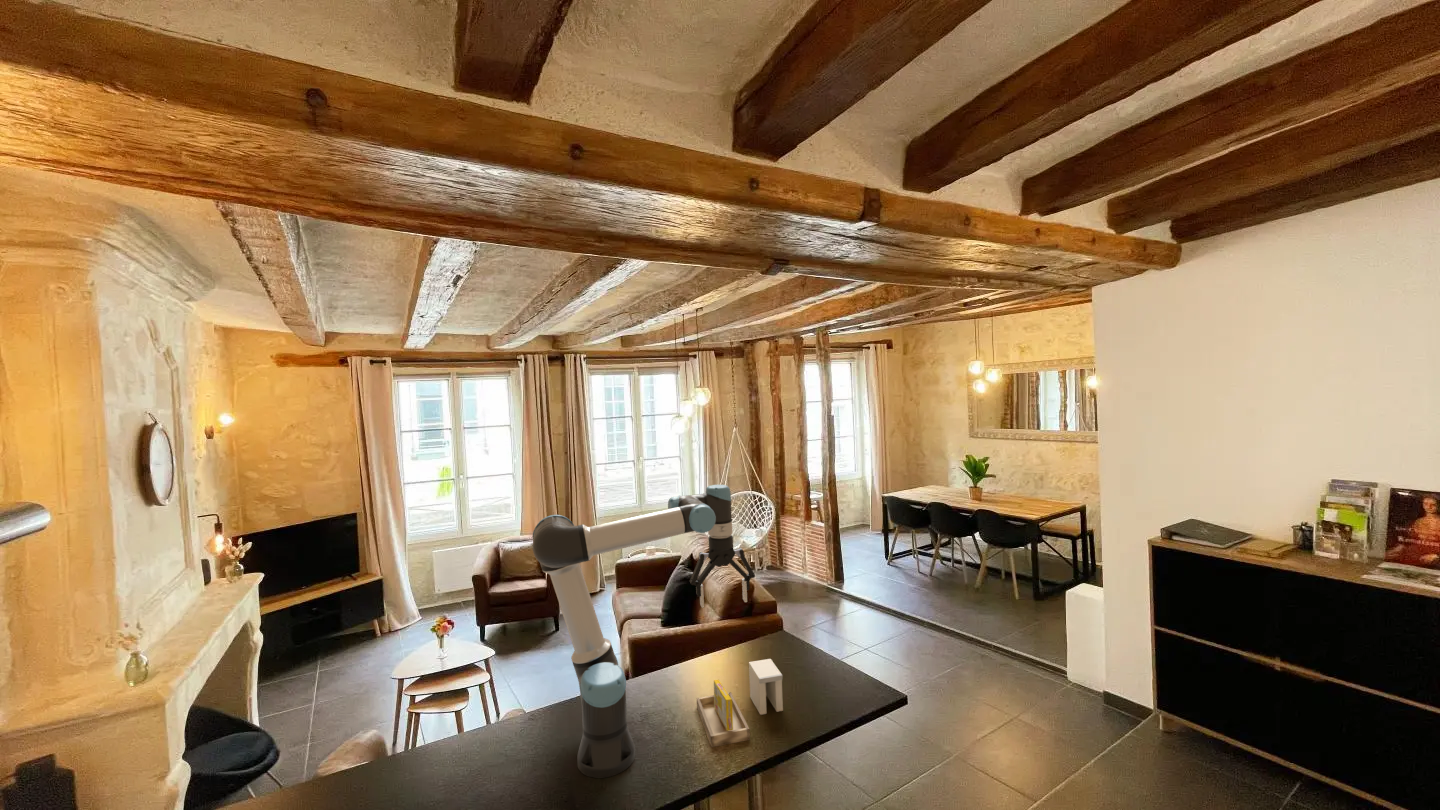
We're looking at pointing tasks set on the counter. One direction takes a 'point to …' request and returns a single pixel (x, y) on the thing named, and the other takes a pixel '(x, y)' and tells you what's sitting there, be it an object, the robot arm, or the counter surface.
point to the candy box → (723, 705)
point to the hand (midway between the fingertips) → (723, 603)
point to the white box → (765, 685)
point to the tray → (716, 727)
